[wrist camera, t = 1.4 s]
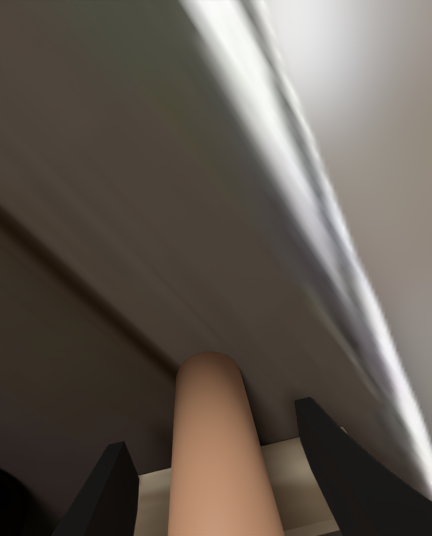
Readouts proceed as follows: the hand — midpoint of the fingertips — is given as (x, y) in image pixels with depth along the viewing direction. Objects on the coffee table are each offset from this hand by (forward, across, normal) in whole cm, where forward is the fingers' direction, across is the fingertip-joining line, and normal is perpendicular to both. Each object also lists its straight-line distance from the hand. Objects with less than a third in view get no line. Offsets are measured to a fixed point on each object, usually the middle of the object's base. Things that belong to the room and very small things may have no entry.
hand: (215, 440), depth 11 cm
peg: (+3, 0, 0) cm, 3 cm away
